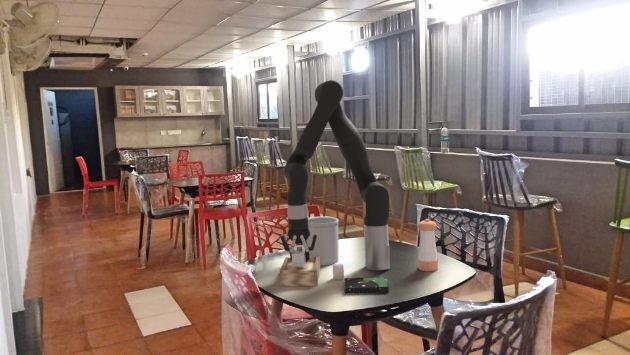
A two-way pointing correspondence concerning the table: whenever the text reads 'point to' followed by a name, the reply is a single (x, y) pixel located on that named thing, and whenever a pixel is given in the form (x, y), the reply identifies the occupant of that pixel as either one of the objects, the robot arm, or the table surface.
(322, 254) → the utensil holder
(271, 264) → the table surface
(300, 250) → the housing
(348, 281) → the disk drive
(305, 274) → the wooden tray
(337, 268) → the spool
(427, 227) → the pepper shaker
